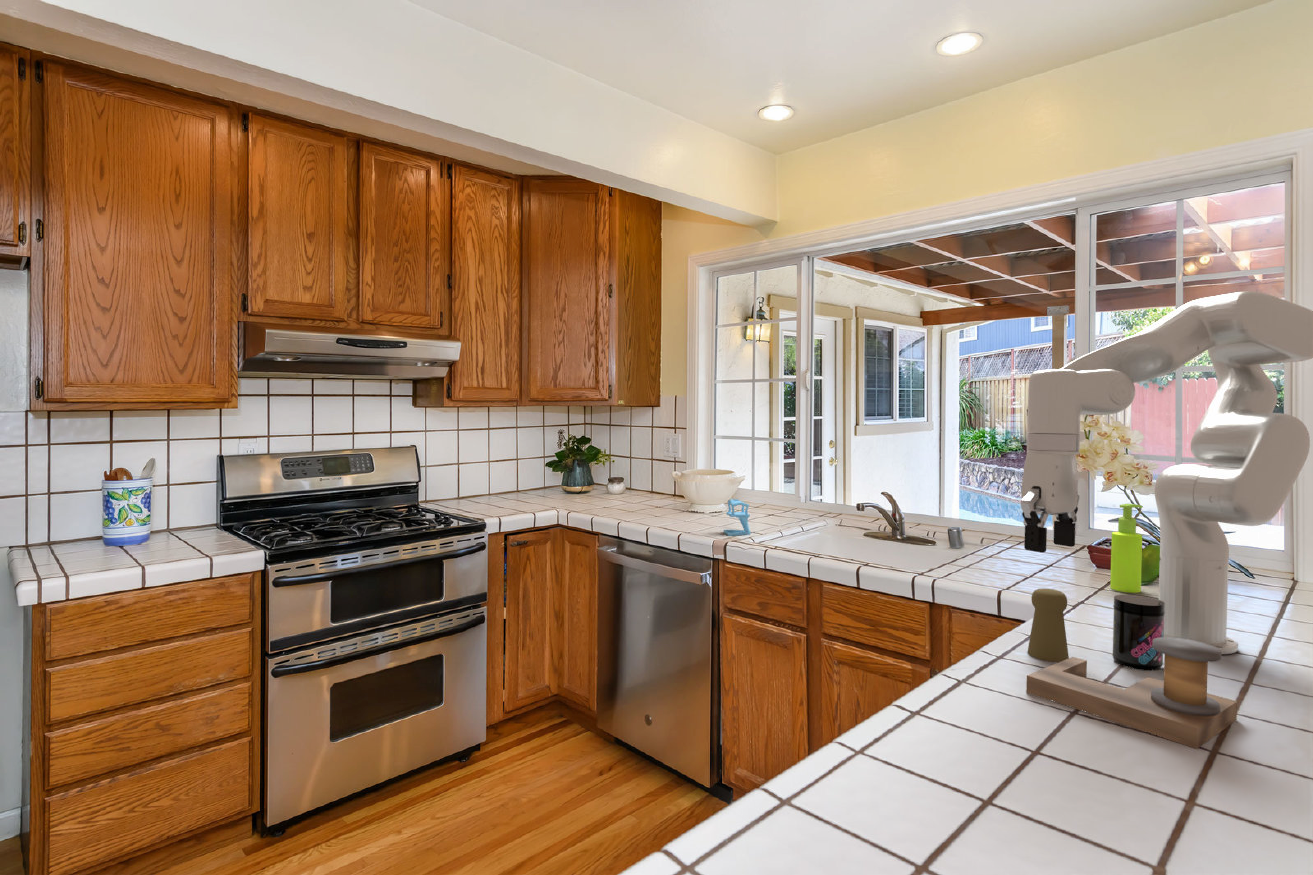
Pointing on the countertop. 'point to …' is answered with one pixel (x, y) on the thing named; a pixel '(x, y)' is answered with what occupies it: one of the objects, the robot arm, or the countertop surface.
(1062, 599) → the olive pepper mill
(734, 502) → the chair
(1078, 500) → the robot arm
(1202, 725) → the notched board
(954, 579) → the countertop surface
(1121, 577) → the soap dispenser
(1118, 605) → the supplement container
